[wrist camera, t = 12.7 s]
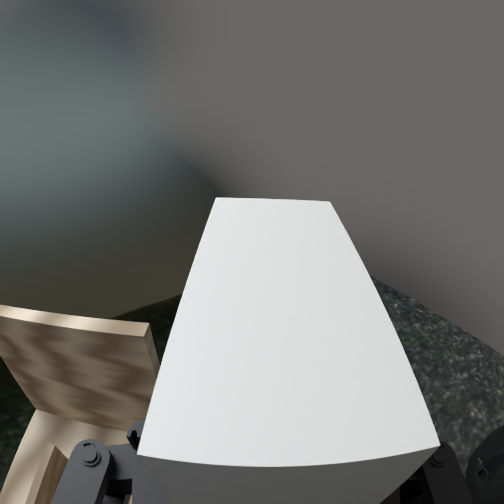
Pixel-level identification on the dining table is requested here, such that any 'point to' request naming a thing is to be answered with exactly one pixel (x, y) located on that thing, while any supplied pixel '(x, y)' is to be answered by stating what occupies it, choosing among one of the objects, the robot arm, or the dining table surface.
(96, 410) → the maple rack
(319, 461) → the white block
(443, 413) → the dining table surface
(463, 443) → the dining table surface
